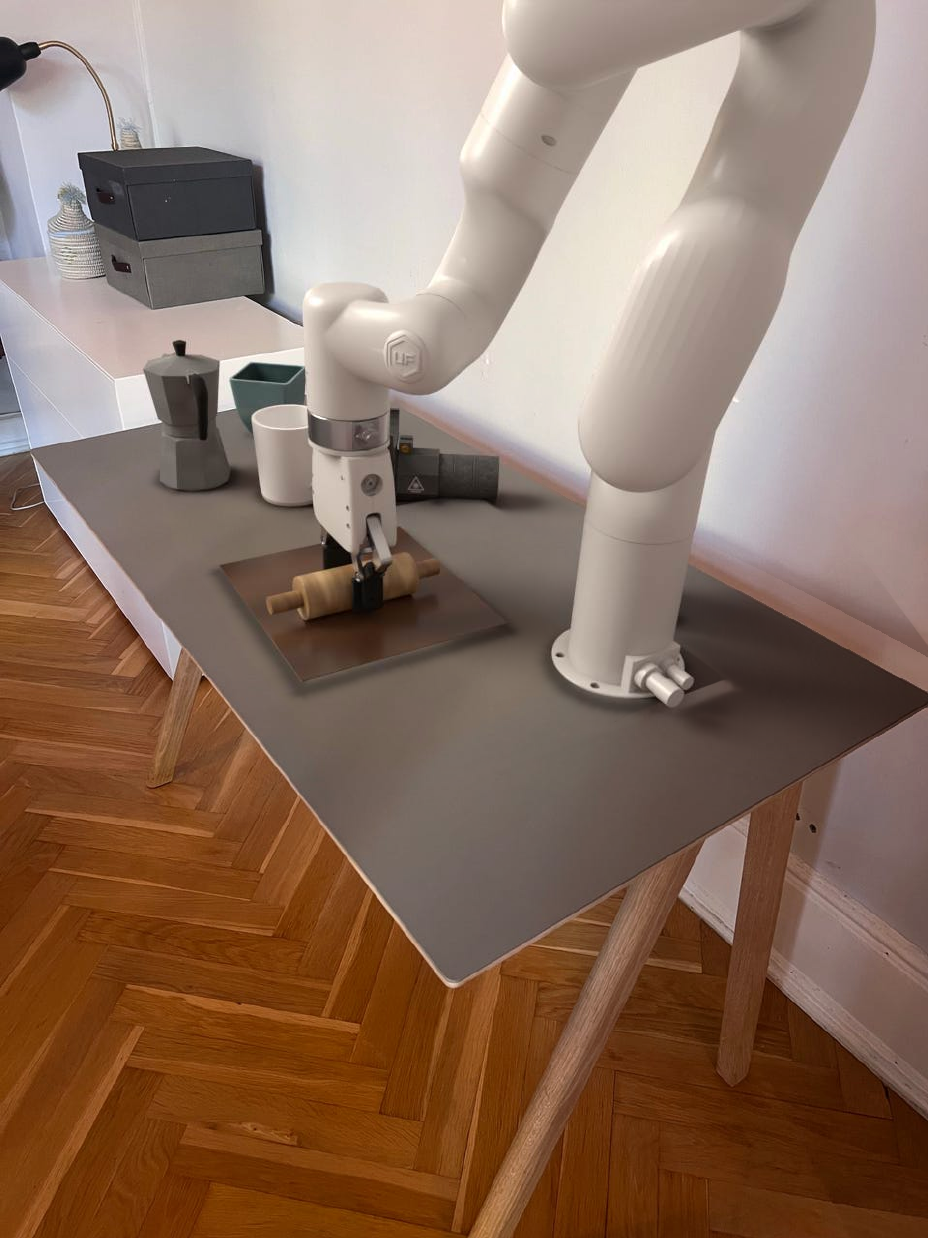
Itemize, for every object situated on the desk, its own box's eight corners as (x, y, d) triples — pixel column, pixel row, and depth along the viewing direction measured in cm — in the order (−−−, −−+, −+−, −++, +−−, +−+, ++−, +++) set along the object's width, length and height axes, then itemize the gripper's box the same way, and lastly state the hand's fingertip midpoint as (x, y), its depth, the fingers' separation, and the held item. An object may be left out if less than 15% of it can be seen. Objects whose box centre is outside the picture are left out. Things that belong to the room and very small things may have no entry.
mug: (243, 492, 117) (236, 415, 112) (299, 474, 123) (294, 399, 117) (297, 520, 111) (292, 440, 105) (353, 499, 117) (351, 422, 111)
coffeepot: (147, 465, 123) (127, 330, 113) (216, 454, 127) (202, 323, 118) (177, 510, 112) (157, 364, 102) (251, 497, 116) (239, 356, 106)
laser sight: (496, 516, 114) (501, 440, 109) (317, 508, 114) (313, 431, 109) (496, 484, 122) (500, 413, 117) (329, 477, 122) (326, 404, 117)
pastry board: (507, 631, 92) (508, 622, 91) (301, 690, 82) (301, 681, 81) (399, 533, 109) (400, 526, 109) (219, 572, 99) (218, 564, 99)
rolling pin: (444, 550, 93) (424, 542, 97) (273, 589, 85) (258, 579, 89) (448, 591, 95) (428, 581, 99) (279, 633, 87) (265, 621, 90)
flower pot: (233, 439, 132) (227, 378, 128) (255, 418, 140) (250, 360, 135) (291, 445, 131) (287, 383, 127) (310, 424, 139) (307, 365, 134)
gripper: (430, 453, 79) (425, 626, 89) (347, 392, 92) (350, 551, 101) (351, 466, 76) (354, 646, 85) (276, 402, 88) (286, 565, 98)
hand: (352, 593), depth 93 cm, fingers open, 6 cm apart
